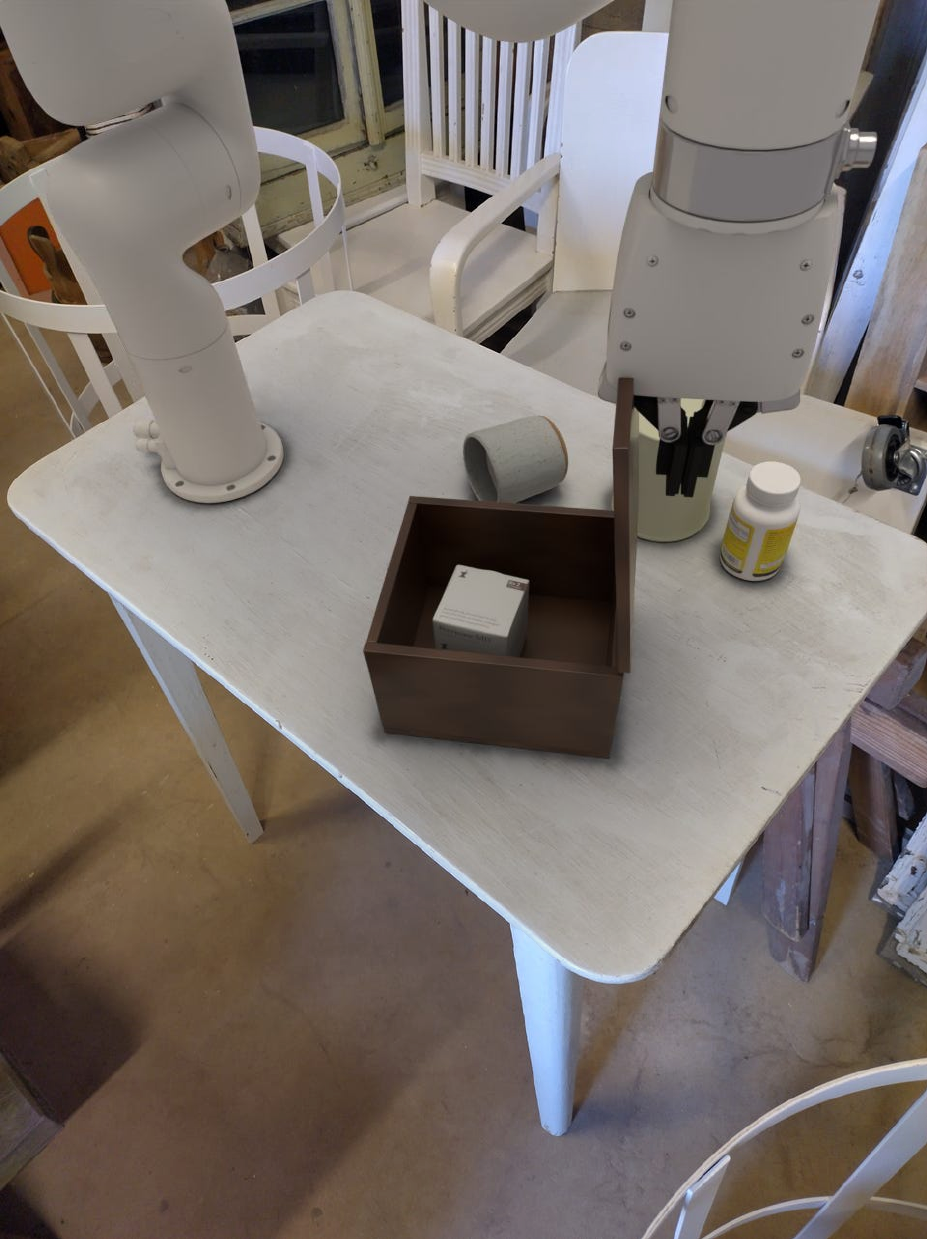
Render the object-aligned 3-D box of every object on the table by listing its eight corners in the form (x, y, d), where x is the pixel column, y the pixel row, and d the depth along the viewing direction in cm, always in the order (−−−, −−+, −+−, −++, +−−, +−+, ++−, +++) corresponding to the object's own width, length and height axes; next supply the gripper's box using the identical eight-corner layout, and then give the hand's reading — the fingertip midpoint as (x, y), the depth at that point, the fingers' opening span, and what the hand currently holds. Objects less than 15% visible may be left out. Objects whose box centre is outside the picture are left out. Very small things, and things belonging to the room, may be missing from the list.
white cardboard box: (437, 676, 66) (429, 619, 60) (461, 620, 70) (455, 561, 64) (509, 693, 65) (508, 637, 59) (529, 635, 68) (530, 577, 62)
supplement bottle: (786, 547, 74) (816, 464, 66) (774, 590, 71) (804, 507, 63) (725, 532, 75) (748, 449, 68) (711, 573, 72) (734, 490, 65)
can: (634, 465, 82) (648, 361, 73) (723, 493, 79) (749, 388, 69) (595, 522, 77) (604, 419, 68) (688, 555, 74) (711, 451, 65)
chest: (383, 732, 64) (362, 650, 56) (422, 584, 74) (409, 495, 65) (609, 759, 61) (623, 677, 53) (619, 601, 71) (632, 511, 63)
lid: (612, 448, 39) (629, 448, 39) (626, 279, 48) (639, 278, 48) (618, 673, 53) (630, 673, 53) (628, 507, 62) (638, 507, 62)
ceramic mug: (572, 496, 80) (575, 432, 74) (499, 527, 77) (496, 464, 72) (517, 439, 86) (516, 376, 80) (448, 466, 84) (442, 403, 78)
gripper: (909, 127, 37) (801, 449, 51) (575, 126, 39) (561, 435, 53) (943, 204, 32) (813, 534, 46) (561, 198, 34) (550, 515, 48)
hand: (679, 480), depth 50 cm, fingers closed
